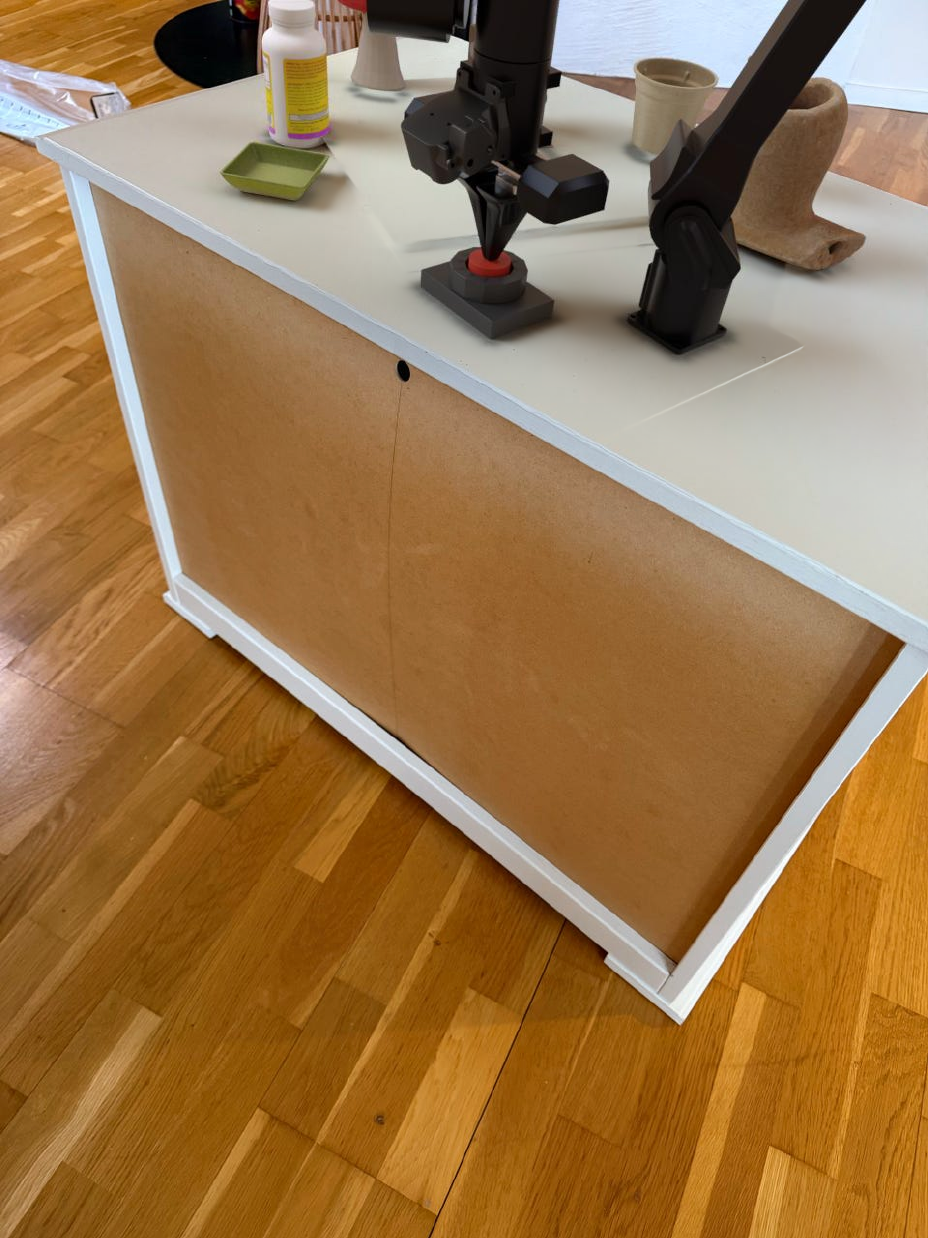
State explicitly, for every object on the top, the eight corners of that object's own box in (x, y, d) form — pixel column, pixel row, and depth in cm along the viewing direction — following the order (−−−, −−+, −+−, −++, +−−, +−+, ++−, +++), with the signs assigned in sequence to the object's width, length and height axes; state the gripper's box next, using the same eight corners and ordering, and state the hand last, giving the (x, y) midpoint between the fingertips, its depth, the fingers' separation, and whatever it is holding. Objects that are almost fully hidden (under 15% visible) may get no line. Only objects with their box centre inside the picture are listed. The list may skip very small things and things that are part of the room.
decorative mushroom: (428, 89, 112) (435, -57, 101) (400, 111, 106) (404, -41, 95) (356, 73, 114) (355, -73, 102) (325, 94, 108) (320, -58, 97)
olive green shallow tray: (252, 160, 94) (250, 139, 93) (331, 174, 93) (330, 153, 92) (221, 194, 88) (218, 172, 87) (305, 209, 88) (303, 187, 86)
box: (551, 317, 78) (558, 280, 75) (490, 340, 75) (494, 301, 72) (480, 268, 83) (484, 231, 80) (420, 287, 80) (422, 249, 77)
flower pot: (713, 163, 104) (736, 80, 97) (654, 176, 100) (674, 91, 93) (659, 133, 109) (678, 52, 102) (601, 145, 105) (616, 62, 98)
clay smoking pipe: (671, 234, 91) (714, 70, 79) (735, 204, 97) (783, 47, 85) (800, 296, 84) (866, 126, 73) (859, 260, 90) (929, 98, 79)
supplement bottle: (341, 138, 100) (339, 3, 90) (304, 155, 96) (297, 17, 86) (295, 121, 102) (287, -12, 92) (256, 138, 98) (244, 0, 88)
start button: (517, 281, 77) (519, 262, 76) (484, 292, 75) (487, 272, 74) (490, 263, 79) (493, 244, 77) (459, 273, 77) (460, 254, 76)
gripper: (347, 24, 65) (350, 234, 77) (510, 114, 56) (486, 336, 68) (466, 7, 70) (452, 206, 82) (634, 87, 61) (591, 298, 73)
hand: (490, 258), depth 76 cm, fingers closed, pressing on start button
